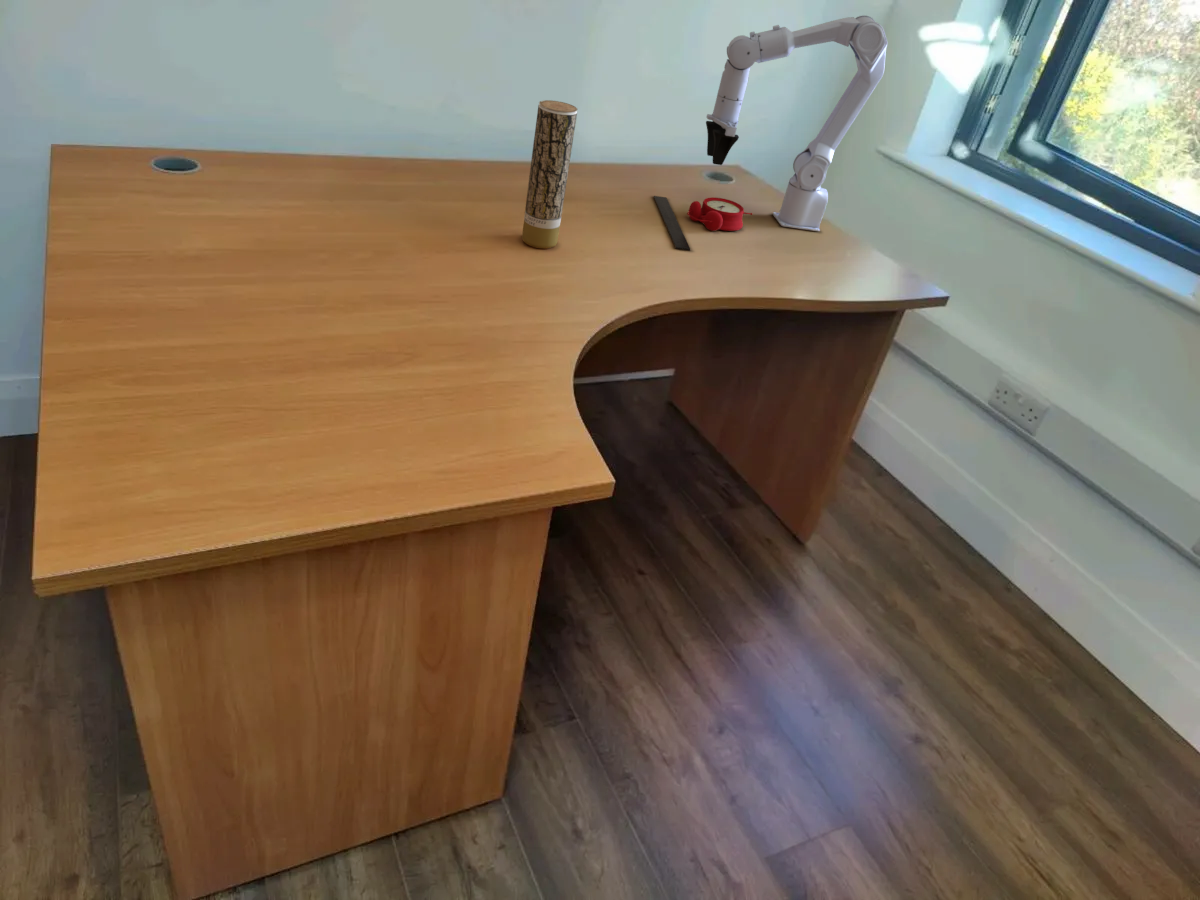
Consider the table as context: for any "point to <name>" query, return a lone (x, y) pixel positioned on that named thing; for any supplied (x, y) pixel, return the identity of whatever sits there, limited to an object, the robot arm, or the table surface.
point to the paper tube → (548, 173)
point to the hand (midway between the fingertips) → (714, 159)
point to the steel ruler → (671, 223)
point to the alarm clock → (718, 214)
